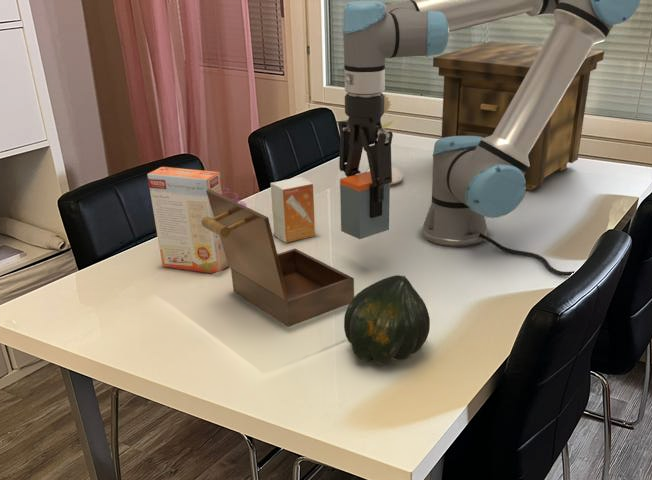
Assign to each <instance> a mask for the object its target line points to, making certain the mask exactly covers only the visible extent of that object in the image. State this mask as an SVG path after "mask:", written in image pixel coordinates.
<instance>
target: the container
mask: <svg viewBox="0 0 652 480" xmlns="http://www.w3.org/2000/svg"><path fill="white" fill-rule="evenodd" d="M370 184H372V178H371V173H370V171H369V172H366V171H365V172H362V173H361V172H360V173H359V174H356V175H353V176H349V177H347V176H346V177H341V178H339V195H340V196H339V198H340V231H341V232H343V233H344V234H347V235H349V236H351V237H354V238H355V239H357V240H362V239H365V238H368V237H372V236H374V235H377V234H381V233H384V232H387V231H390V208H391V207H390V203H391V200H390V199H391V198H390V196H391V195H390V194H391V192H390V191H391V185H390V183H389V184H385V185H384V200H383V201H382V215H381V216H378V217H375V218H370Z"/></svg>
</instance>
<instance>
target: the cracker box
mask: <svg viewBox="0 0 652 480" xmlns="http://www.w3.org/2000/svg"><path fill="white" fill-rule="evenodd" d="M146 175H147V176H146V177H147V181H148V188H149V193H150V194H149V195H150V199H151V205H152V211H153V217H154V224H155V229H156V237H157V241H158V242H157V243H158V246H159V247H158V248H159V252H160V253H159V254H160V259H161V265H162V267H164V268H172V269H178V270H187V271H192V272H201V273H207V274H212V275H213V274H216V273H219V272H222V271H224V270H225V269H226V268H229V266H228V262H227V259H226V255H225V252H224V249H223V245H222V242H221V239H220V236H219V235H217V234H215V233H214V232H212V231H210V230H208V229H206V228H205V227H203V226H202V219H203V218H204V217H210V218H213V217H214V215H213V212H212V209H211V205H210V202H209V199H208V195H207V192H206V191H207V190H209V189H210V190H212V191H214V192H217V193H219V194H221V195H223V188H222V182H221V181H222V180H221V173H220V171H213V170H212V171H211V170H203V169H202V170H201V169H191V168H190V169H189V168H180V167H171V166H170V167H169V166H159V167H158V168H157V169H155V170H152V171H150V172H148V173H147V174H146Z"/></svg>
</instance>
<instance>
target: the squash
mask: <svg viewBox="0 0 652 480" xmlns="http://www.w3.org/2000/svg"><path fill="white" fill-rule="evenodd" d="M430 327H431V319H430V313H429V310H428V308H427V305H426V303H425V300H423V298H422V297H421V295H420V294H419V293H418V292H417V290H416V289H415V288H414V286H413V285H412V283H411V282H410V281H409V279H408V278H407V277H406V276H405V275H400V274H399V275H398V274H397V275H396V274H395V275H391V276H388V277H385V278H382V279H381V280H378V281H376V282H374V283H372V284H370V285H368V286H367V287H365V288H363V289H362V290H360V291H359V292H358V293H357V294H355V295H354V299H353V300H352V302H351V303H350V304H348V306H347V309H346V311H345V313H344V317H343V328H344V333H345V337H346V339H347V341H348V342H349V343H350V345H351V348H352V352H353V354H354V355H355V357H356V358H357V359H358V360H360V361H362V362H373V361H375V363H377V364H379V365H387V364H390V362H392V361H393V360H396V361H404V360H406V359H408V358H410V356H411V355H413V354H415V353H417V352H419V350H420V349H421V348H422V347H423V346H424V344H425V343H426V341H427V340H428V336H429V334H430V329H431V328H430Z"/></svg>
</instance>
